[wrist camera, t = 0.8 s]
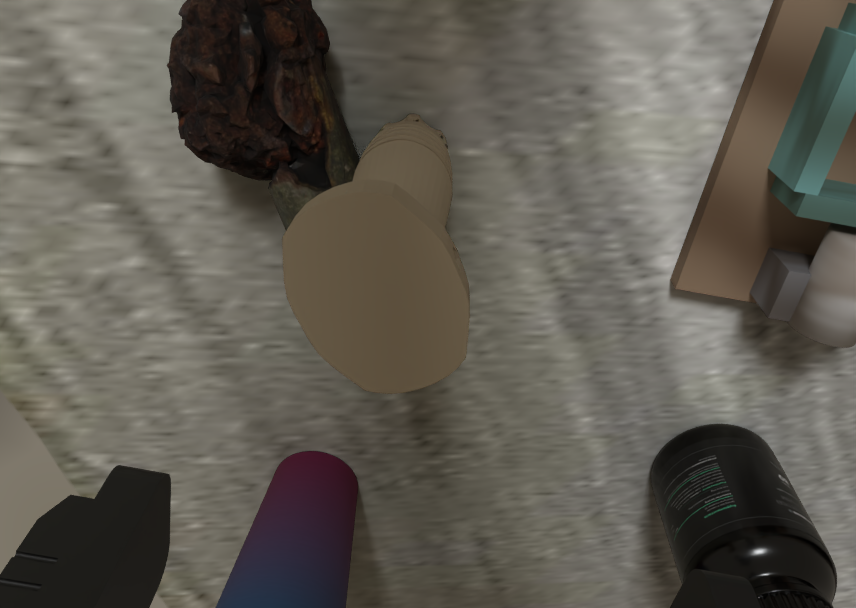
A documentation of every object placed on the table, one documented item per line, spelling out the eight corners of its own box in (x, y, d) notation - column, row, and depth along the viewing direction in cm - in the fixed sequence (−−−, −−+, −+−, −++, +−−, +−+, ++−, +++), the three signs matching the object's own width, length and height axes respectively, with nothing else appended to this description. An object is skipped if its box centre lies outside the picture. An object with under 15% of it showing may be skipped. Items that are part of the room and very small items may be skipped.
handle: (434, 59, 32) (411, 166, 19) (486, 190, 35) (497, 364, 22) (334, 101, 33) (247, 230, 20) (392, 225, 36) (349, 411, 23)
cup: (368, 532, 46) (326, 786, 33) (258, 518, 46) (172, 767, 32) (377, 446, 43) (336, 690, 29) (260, 431, 42) (165, 669, 29)
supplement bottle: (794, 476, 42) (903, 668, 32) (688, 529, 44) (756, 725, 34) (734, 398, 40) (830, 577, 29) (625, 459, 42) (677, 644, 32)
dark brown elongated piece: (425, 294, 38) (417, 354, 33) (304, 323, 39) (279, 385, 34) (300, -77, 30) (265, -71, 25) (153, -26, 31) (92, -11, 26)
